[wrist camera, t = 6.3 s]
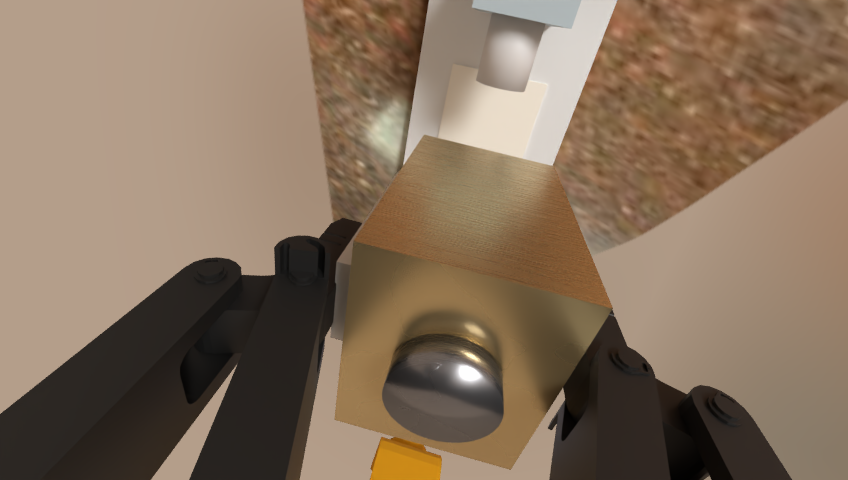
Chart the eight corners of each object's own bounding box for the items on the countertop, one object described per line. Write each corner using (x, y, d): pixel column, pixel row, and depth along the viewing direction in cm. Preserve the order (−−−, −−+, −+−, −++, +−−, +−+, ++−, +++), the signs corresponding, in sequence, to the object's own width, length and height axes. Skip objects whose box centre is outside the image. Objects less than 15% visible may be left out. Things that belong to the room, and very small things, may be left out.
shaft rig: (444, -82, 23) (418, -131, 16) (630, -44, 23) (696, -76, 15) (394, 231, 36) (366, 287, 29) (512, 260, 36) (516, 325, 28)
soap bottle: (391, 314, 42) (288, 598, 22) (409, 252, 37) (298, 543, 17) (465, 337, 42) (433, 645, 21) (492, 279, 37) (485, 604, 16)
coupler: (399, 261, 17) (322, 448, 9) (424, 134, 14) (338, 264, 6) (504, 288, 17) (511, 502, 9) (554, 166, 14) (625, 340, 6)
